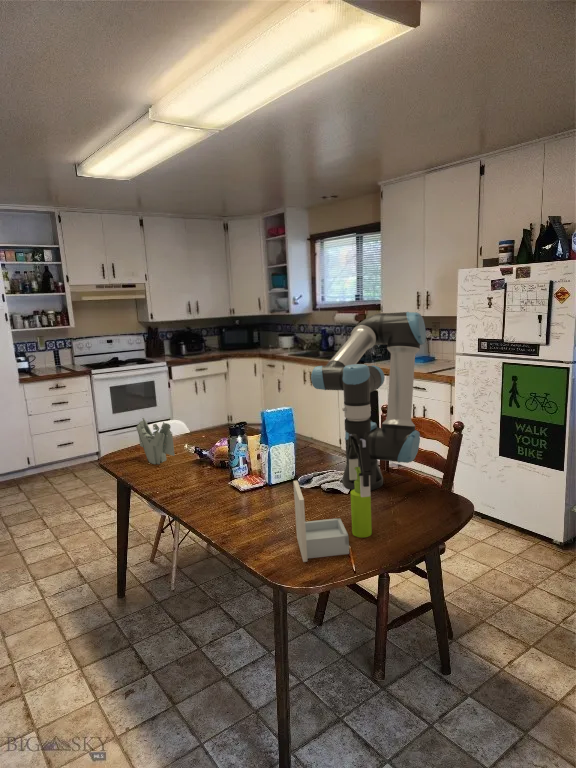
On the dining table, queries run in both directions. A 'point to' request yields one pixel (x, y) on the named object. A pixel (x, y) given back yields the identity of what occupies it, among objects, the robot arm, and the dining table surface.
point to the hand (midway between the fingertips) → (359, 487)
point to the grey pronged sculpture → (156, 441)
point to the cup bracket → (318, 533)
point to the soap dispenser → (360, 510)
